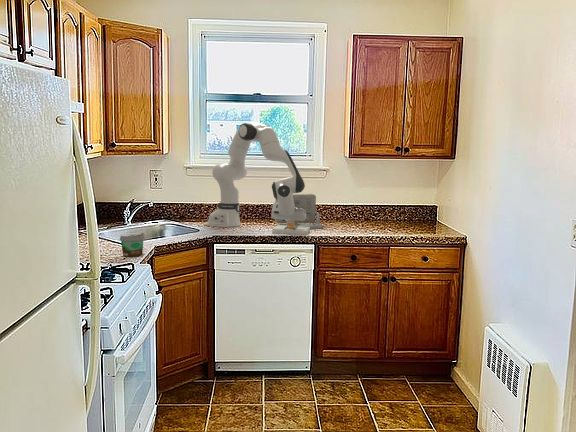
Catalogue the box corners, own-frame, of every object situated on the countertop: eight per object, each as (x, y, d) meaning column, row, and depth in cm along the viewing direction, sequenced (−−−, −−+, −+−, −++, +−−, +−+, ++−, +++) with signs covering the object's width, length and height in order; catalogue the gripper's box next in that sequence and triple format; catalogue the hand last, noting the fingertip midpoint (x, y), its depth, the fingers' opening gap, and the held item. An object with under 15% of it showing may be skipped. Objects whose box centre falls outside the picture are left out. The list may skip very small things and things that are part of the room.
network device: (312, 223, 359) (313, 193, 356) (316, 226, 350) (317, 195, 347) (274, 224, 352) (274, 193, 349) (277, 227, 344) (278, 195, 341)
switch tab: (287, 228, 325) (287, 214, 324) (288, 227, 328) (288, 213, 327) (293, 228, 324) (293, 214, 323) (294, 227, 327) (294, 213, 326)
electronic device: (298, 213, 342) (320, 211, 347) (298, 228, 344) (320, 227, 348) (300, 214, 337) (323, 213, 342) (300, 230, 339) (323, 228, 343)
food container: (127, 259, 250) (127, 237, 249) (120, 257, 254) (119, 235, 253) (150, 255, 259) (150, 234, 258) (143, 253, 263) (142, 232, 262)
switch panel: (272, 233, 323) (272, 227, 322) (277, 229, 336) (277, 223, 336) (305, 235, 319) (306, 229, 319) (309, 231, 333) (309, 225, 332)
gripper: (306, 204, 312) (308, 218, 323) (271, 202, 316) (274, 217, 327) (304, 213, 309) (306, 227, 320) (269, 211, 313) (272, 225, 324)
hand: (290, 222), depth 323 cm, fingers closed, pressing on switch tab
